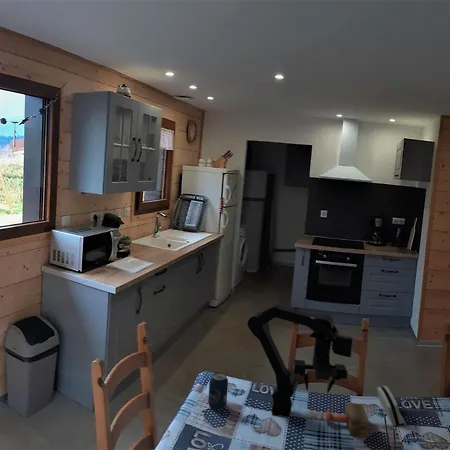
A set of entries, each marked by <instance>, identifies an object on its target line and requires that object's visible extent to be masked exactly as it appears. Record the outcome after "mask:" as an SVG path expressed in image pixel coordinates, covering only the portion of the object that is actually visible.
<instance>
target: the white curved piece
mask: <svg viewBox="0 0 450 450" xmlns="http://www.w3.org/2000/svg"><path fill="white" fill-rule="evenodd" d="M376 390H377V391H376V392H377V395H378V399H379V403H380V402H381V403H380V405H381V404H382V405H381V406H382V408H383V410H384V412H385V411H386V412H385V413H387V414H386V416H387V415H388V416H387V417H388V419H389V421H390V423H391V425H392V426H397V424H399V425H402V424H403V423H404V424H403V425H404V427H406V426H407V423H406V421H405V419H404V417H403V416H402V414H401V413H400V409H399V406H398V403H397V401H396V399H395V397H394V395H393V393H392V392H391V390H390V388H389V387H388V386H387V385H382V386H381V387H380V386H378V387H376Z"/></svg>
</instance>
